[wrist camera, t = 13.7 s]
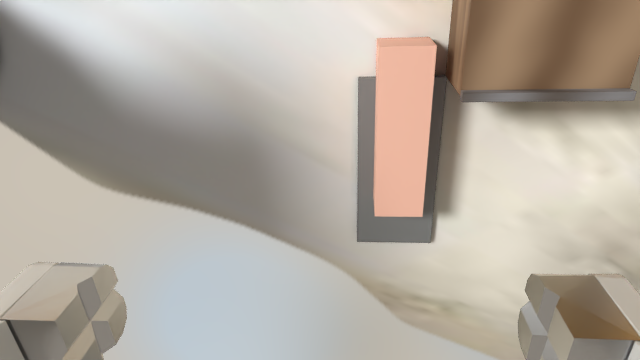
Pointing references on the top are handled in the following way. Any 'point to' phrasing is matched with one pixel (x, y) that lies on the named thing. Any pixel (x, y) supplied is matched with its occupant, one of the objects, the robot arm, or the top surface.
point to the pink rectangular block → (402, 124)
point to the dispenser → (543, 50)
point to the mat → (367, 222)
